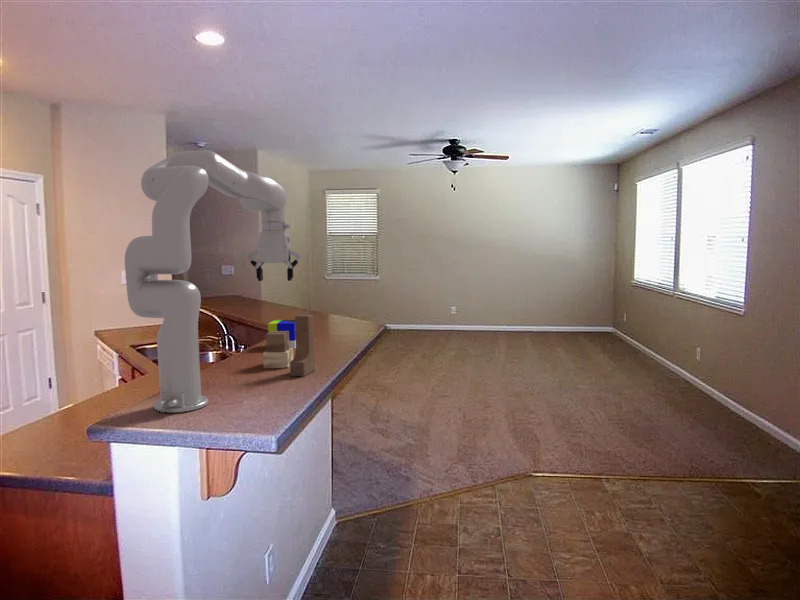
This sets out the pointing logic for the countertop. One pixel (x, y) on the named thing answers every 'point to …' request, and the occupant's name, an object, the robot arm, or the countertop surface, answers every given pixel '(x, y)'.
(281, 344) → the walnut cube
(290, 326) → the puzzle toy
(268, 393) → the countertop surface
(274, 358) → the oak block
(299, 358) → the wooden block
